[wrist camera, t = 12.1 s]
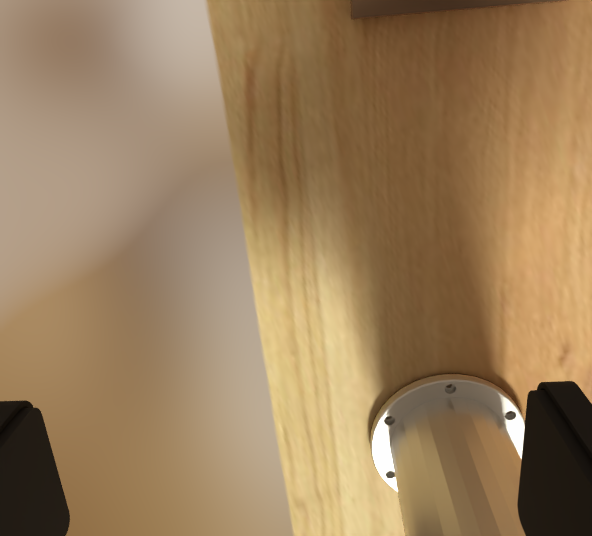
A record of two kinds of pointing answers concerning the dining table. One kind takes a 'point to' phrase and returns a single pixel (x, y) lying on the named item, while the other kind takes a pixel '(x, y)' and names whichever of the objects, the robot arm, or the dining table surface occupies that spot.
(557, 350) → the dining table surface
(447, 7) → the shaft block
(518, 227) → the dining table surface
